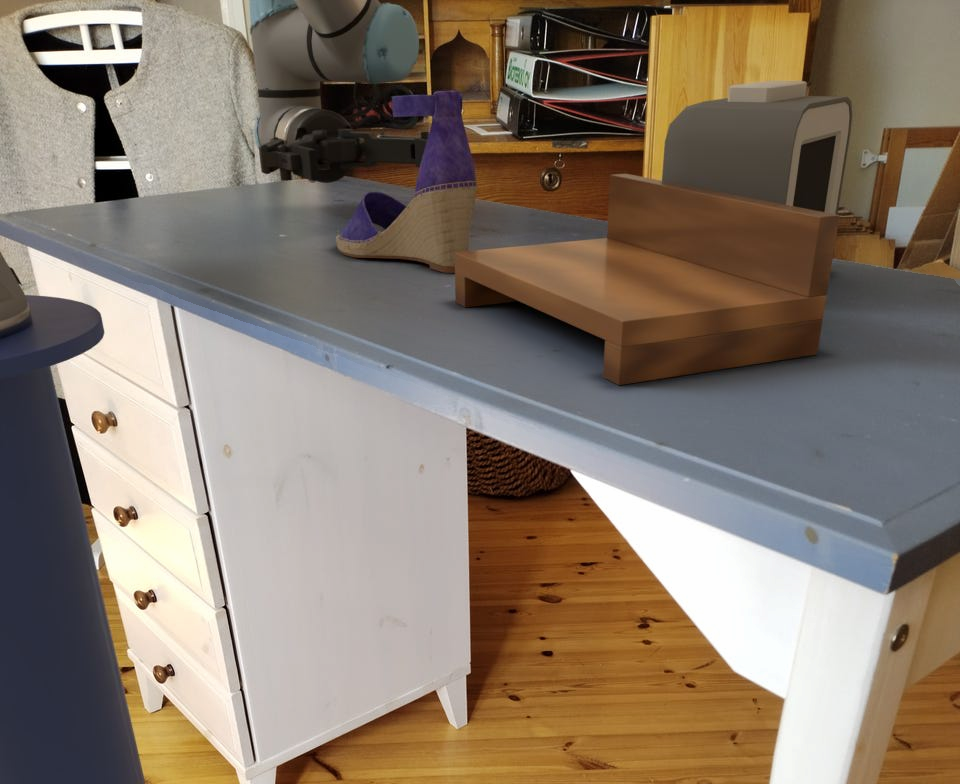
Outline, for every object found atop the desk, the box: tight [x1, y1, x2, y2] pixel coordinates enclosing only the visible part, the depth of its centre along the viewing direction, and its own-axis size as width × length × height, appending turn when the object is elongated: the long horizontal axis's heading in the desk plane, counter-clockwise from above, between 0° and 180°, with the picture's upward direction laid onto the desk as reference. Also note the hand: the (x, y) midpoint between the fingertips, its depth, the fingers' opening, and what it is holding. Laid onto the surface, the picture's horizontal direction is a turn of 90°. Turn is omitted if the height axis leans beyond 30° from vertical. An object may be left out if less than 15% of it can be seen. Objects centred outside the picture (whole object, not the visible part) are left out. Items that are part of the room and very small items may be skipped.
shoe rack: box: [454, 173, 841, 386], centre depth 75 cm, size 16×26×9 cm, turn 25°
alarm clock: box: [661, 80, 853, 215], centre depth 87 cm, size 16×11×16 cm
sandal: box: [335, 89, 478, 274], centre depth 97 cm, size 8×20×15 cm, turn 32°
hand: (379, 161), depth 101 cm, fingers open, 13 cm apart
